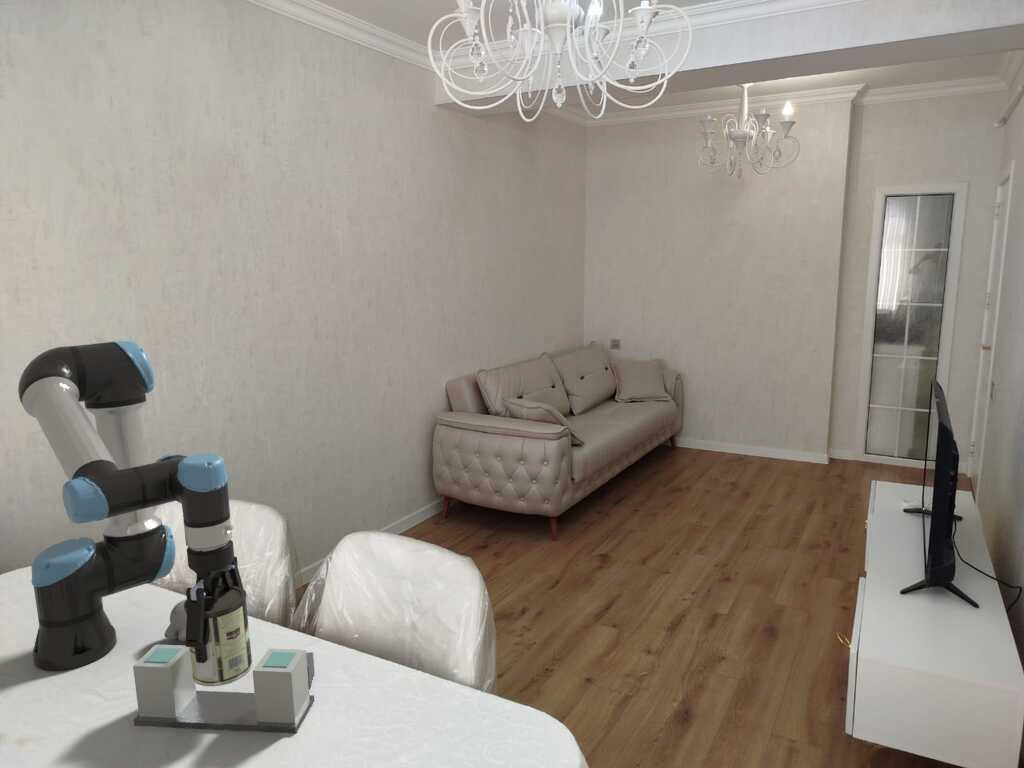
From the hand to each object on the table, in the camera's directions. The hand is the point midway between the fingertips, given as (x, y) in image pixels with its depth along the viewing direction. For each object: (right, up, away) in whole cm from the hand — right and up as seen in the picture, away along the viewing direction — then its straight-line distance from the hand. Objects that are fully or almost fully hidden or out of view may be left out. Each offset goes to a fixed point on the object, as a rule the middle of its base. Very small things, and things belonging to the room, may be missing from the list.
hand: (221, 658), depth 129 cm
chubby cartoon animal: (-18, -6, +30) cm, 35 cm away
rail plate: (0, -11, +2) cm, 11 cm away
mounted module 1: (-11, -10, +3) cm, 15 cm away
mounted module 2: (+11, -10, +1) cm, 15 cm away
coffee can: (0, -2, 0) cm, 2 cm away
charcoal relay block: (+11, -9, +11) cm, 18 cm away
